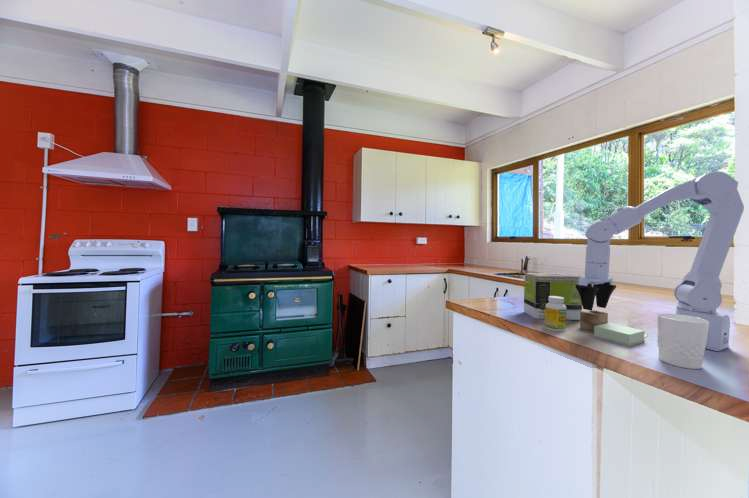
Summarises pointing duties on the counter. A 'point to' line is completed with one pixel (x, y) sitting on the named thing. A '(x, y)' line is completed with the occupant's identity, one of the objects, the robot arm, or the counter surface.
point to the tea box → (551, 293)
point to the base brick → (619, 334)
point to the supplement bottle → (555, 314)
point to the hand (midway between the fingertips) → (594, 308)
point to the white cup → (682, 340)
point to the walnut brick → (592, 319)
